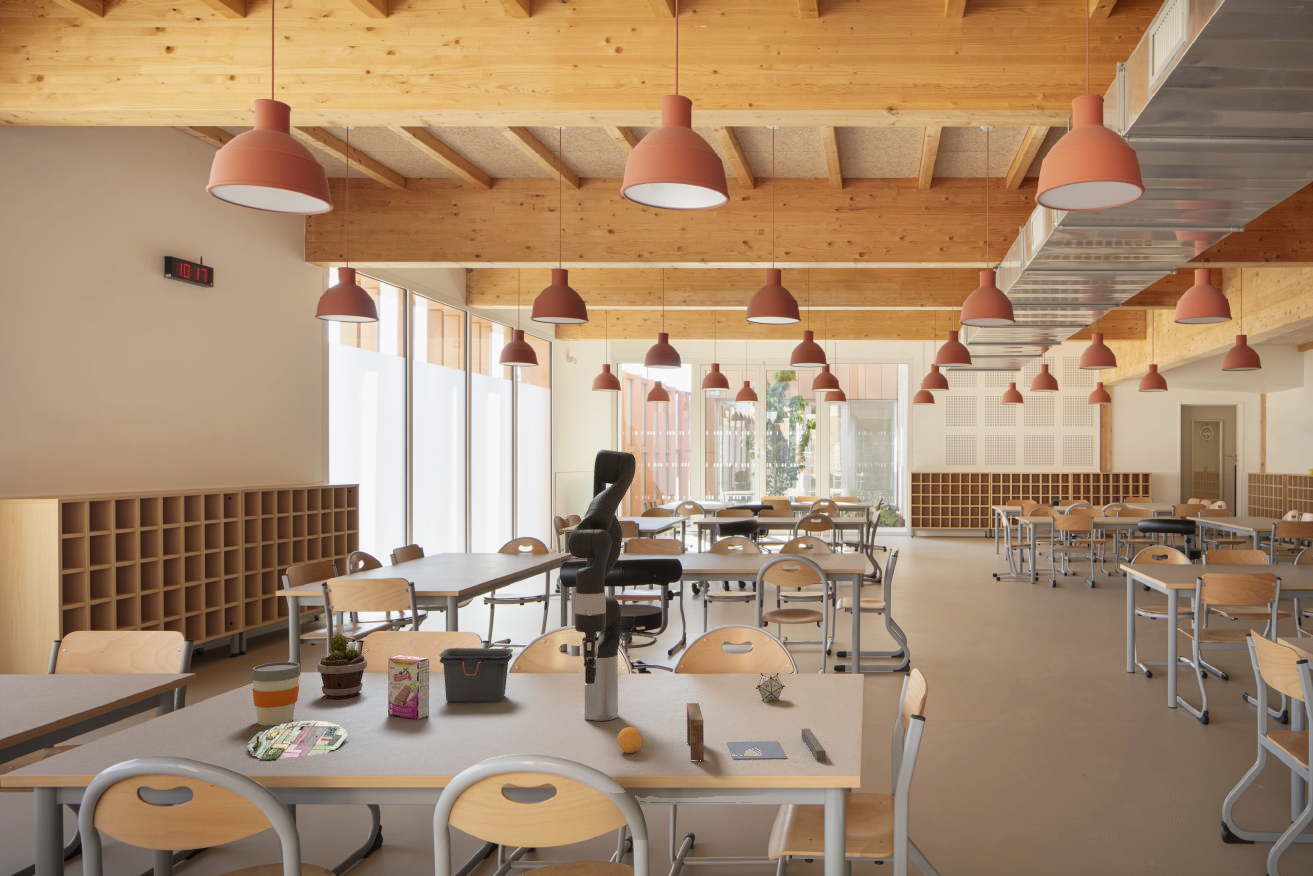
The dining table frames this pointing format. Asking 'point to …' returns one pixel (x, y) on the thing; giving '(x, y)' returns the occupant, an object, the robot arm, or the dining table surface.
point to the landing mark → (767, 747)
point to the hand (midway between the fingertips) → (590, 679)
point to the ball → (629, 740)
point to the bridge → (695, 731)
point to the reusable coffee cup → (275, 691)
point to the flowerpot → (341, 670)
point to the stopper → (813, 744)
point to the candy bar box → (408, 687)
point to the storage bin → (475, 674)
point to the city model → (297, 740)
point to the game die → (770, 687)
